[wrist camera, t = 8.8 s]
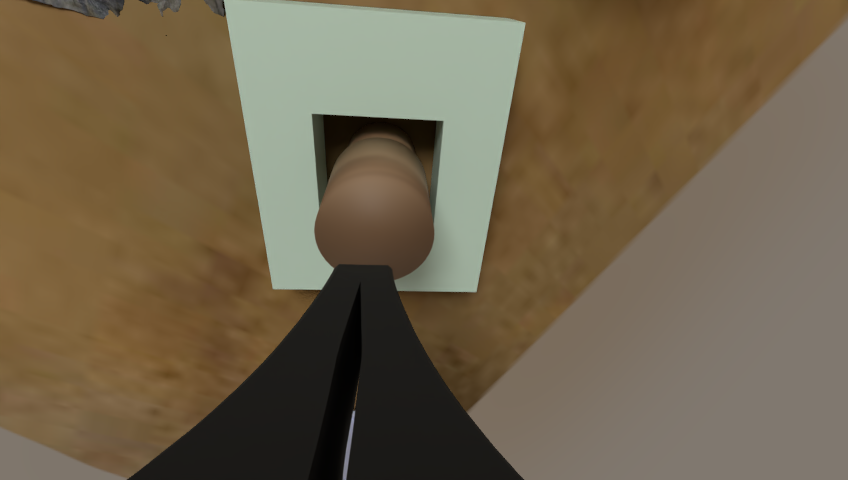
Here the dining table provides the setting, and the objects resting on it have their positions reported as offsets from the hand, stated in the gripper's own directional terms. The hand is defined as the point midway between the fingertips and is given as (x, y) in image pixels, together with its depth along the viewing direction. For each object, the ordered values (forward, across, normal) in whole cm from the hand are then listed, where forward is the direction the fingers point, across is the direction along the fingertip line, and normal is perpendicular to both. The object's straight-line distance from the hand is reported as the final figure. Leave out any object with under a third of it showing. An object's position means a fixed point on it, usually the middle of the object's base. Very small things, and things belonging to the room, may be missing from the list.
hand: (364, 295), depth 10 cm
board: (+10, 0, 0) cm, 10 cm away
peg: (+10, 0, 0) cm, 10 cm away
